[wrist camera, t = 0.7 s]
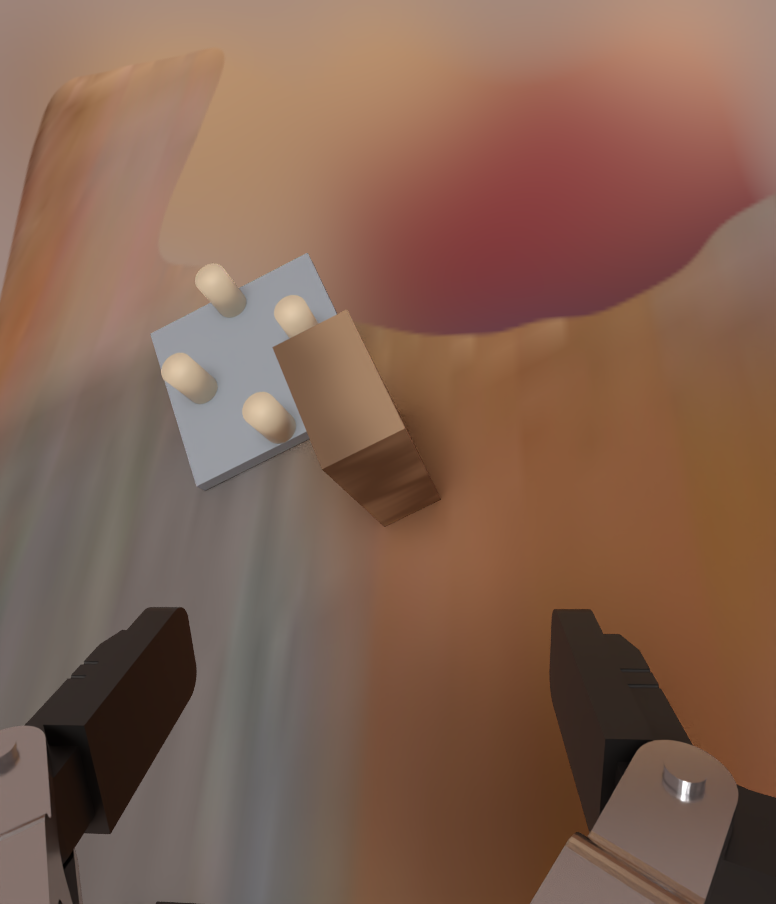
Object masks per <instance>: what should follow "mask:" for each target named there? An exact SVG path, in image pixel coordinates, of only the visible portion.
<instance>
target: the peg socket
mask: <svg viewBox="0 0 776 904" xmlns="http://www.w3.org/2000/svg"><path fill="white" fill-rule="evenodd" d="M195 284H196V286H197V288H198V289H199V290H200V291H201V292H202V293H203V295H204V296H205V297H206V298H207V299H208V300H209V301H210V302H211V303H209V304H207V305H205V306H203V307H201V308H200V309H198V310H196V311H194V312H192V313H190V314H188V315H186V316H184V317H182V318H180V319H178V320H176V321H174V322H172V323H170V324H169V325H167V326H165V327H163V328H161V329H159V330H157V331H155V332H153V333H151V338H152V341H153V344H154V347H155V351H156V354H157V357H158V361H159V364H160V367H161V374H162V377H163V379H164V380H165V384H166V387H167V390H168V394H169V397H170V400H171V403H172V407H173V410H174V413H175V417H176V420H177V423H178V427H179V430H180V433H181V436H182V440H183V443H184V446H185V450H186V453H187V456H188V460H189V463H190V466H191V469H192V473H193V476H194V479H195V483H196V486H197V487H199V488H201V489H203V490H207V489H209V488H211V487H213V486H215V485H217V484H219V483H221V482H223V481H225V480H227V479H229V478H231V477H233V476H235V475H238V474H240V473H242V472H244V471H246V470H248V469H250V468H252V467H254V466H256V465H258V464H260V463H262V462H264V461H266V460H268V459H270V458H272V457H274V456H276V455H278V454H280V453H282V452H284V451H286V450H288V449H290V448H292V447H294V446H296V445H298V444H300V443H302V442H304V441H306V440H308V439H309V436H308V434H307V431H306V429H305V426H304V424H303V421H302V419H301V417H300V414H299V412H298V409H297V407H296V404H295V402H294V399H293V397H292V394H291V392H290V389H289V387H288V385H287V382H286V380H285V377H284V375H283V372H282V370H281V367H280V365H279V362H278V360H277V358H276V355H275V353H274V350H273V348H272V347H274V346H276V345H278V344H280V343H282V342H284V341H286V340H288V339H290V338H292V337H294V336H295V335H297V334H299V333H301V332H303V331H305V330H307V329H309V328H311V327H313V326H315V325H317V324H319V323H321V322H323V321H325V320H327V319H329V318H331V317H333V316H335V315H337V312H336V310H335V308H334V306H333V304H332V302H331V300H330V298H329V296H328V293H327V291H326V289H325V287H324V285H323V283H322V281H321V279H320V277H319V275H318V273H317V271H316V268H315V267H314V264H313V262H312V260H311V258H310V257H309V255H308V253H306V254H304V255H302V256H300V257H298V258H296V259H294V260H292V261H291V262H289V263H287V264H285V265H283V266H281V267H279V268H277V269H275V270H273V271H271V272H269V273H267V274H265V275H263V276H261V277H260V278H258V279H256V280H254V281H252V282H250V283H248V284H246V285H244V286H242V287H240V288H238V286H237V285H236V284H235V283H234V281H233V280H232V279H231V278H230V276H229V275H228V274H227V272H226V271H225V270H224V268H223V267H222V266H221V265H219V264H209V265H206V266H204V267H203V268H201V269H200V270H199V272H198V273H197V275H196V278H195Z"/></svg>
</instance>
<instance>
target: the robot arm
mask: <svg viewBox="0 0 776 904" xmlns="http://www.w3.org/2000/svg"><path fill="white" fill-rule="evenodd" d="M195 682H196V662H195V656H194V650H193V644H192V638H191V632H190V626H189V620H188V615H187V612H186V610H185V609H184V608H182V607H149V608H147V609H145V610H144V611H143V612H142V614H141V615H140V616H139V617H138V618H137V619H136V620H135V621H134V623H133V624H132V625H131V626H130V627H129V628H128V629H127V630H121V631H120V632H118V633H117V634H115V635H114V636H112V637H111V638H109V639H107V640H106V641H104V642H103V643H101V644H100V645H99V646H98V647H97V648H96V649H95V650H94V651H93V652H92V653H91V654H90V655H89V657H88V658H87V659H86V660H85V661H84V665H80V666H79V667H78V668H77V669H76V671H75V672H74V673H73V674H72V675H71V679H67V680H66V681H65V682H64V683H63V685H62V686H61V687H60V688H59V689H58V690H57V691H56V692H55V693H54V694H53V695H52V696H51V697H50V699H49V700H48V701H47V702H46V703H45V704H44V705H43V706H42V707H41V708H40V709H39V710H38V711H37V713H36V714H35V715H34V716H33V717H32V718H31V719H30V720H29V721H28V722H27V723H26V724H25V725H24V726H16V727H11V728H7V729H4V730H1V731H0V904H83V899H82V890H81V882H80V873H79V864H78V858H77V854H76V850H75V846H76V845H77V843H78V842H79V840H80V838H81V837H82V835H83V834H84V833H94V834H111V832H112V830H113V829H114V827H115V825H116V824H117V822H118V820H119V819H120V817H121V815H122V813H123V812H124V810H125V808H126V807H127V805H128V803H129V802H130V800H131V798H132V796H133V795H134V793H135V791H136V790H137V788H138V786H139V785H140V783H141V781H142V779H143V778H144V776H145V774H146V773H147V771H148V769H149V768H150V766H151V764H152V762H153V761H154V759H155V757H156V756H157V754H158V752H159V751H160V749H161V747H162V745H163V744H164V742H165V740H166V739H167V737H168V735H169V734H170V732H171V730H172V728H173V727H174V725H175V723H176V722H177V720H178V718H179V717H180V715H181V713H182V711H183V710H184V708H185V706H186V705H187V703H188V701H189V700H190V698H191V696H192V693H193V691H194V687H195ZM550 689H551V697H552V702H553V706H554V710H555V713H556V717H557V720H558V724H559V727H560V731H561V734H562V738H563V741H564V745H565V748H566V752H567V755H568V759H569V762H570V766H571V769H572V773H573V776H574V780H575V783H576V787H577V790H578V794H579V797H580V801H581V804H582V808H583V811H584V815H585V818H586V822H587V825H588V829H589V832H590V834H589V835H588V836H587V837H586V836H584V835H583V834H581V833H579V832H576V833H575V834H573V835H572V836H571V838H570V839H569V840H568V842H567V843H566V845H565V846H564V848H563V850H562V851H561V853H560V855H559V856H558V858H557V860H556V861H555V863H554V865H553V866H552V868H551V870H550V871H549V873H548V875H547V876H546V878H545V880H544V881H543V883H542V885H541V886H540V888H539V890H538V891H537V893H536V895H535V896H534V898H533V900H532V901H531V903H530V904H776V798H774V797H771V796H767V795H764V794H760V793H757V792H754V791H751V790H748V789H746V788H743V787H741V786H739V785H737V784H736V782H735V780H734V779H733V777H732V775H731V774H730V773H729V771H728V770H727V769H726V768H725V767H724V766H723V765H722V764H721V763H720V762H719V761H718V760H717V759H715V758H714V757H713V756H711V755H710V754H708V753H707V752H705V751H703V750H701V749H699V748H697V747H695V746H693V745H692V743H691V741H690V739H689V738H688V736H687V734H686V732H685V731H684V729H683V727H682V725H681V723H680V722H679V720H678V718H677V716H676V715H675V713H674V711H673V709H672V708H671V706H670V704H669V702H668V700H667V699H666V697H665V695H664V693H663V692H662V690H661V689H660V688H659V684H658V683H657V681H656V679H655V677H654V676H653V674H652V673H650V668H649V667H648V665H647V663H646V661H645V660H644V658H643V656H642V654H641V653H640V651H639V650H638V649H637V648H636V647H635V646H633V645H632V644H631V643H630V642H629V641H627V640H626V639H625V638H624V637H622V636H621V635H620V634H603V633H602V630H601V628H600V626H599V624H598V622H597V620H596V618H595V616H594V614H593V612H592V611H591V610H590V609H554V610H553V613H552V625H551V649H550ZM156 904H194V903H174V902H157V903H156Z"/></svg>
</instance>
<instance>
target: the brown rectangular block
mask: <svg viewBox="0 0 776 904" xmlns="http://www.w3.org/2000/svg"><path fill="white" fill-rule="evenodd" d="M272 348H273V350H274V353H275V355H276V358H277V360H278V362H279V365H280V367H281V370H282V372H283V375H284V377H285V380H286V382H287V385H288V387H289V389H290V392H291V394H292V397H293V399H294V402H295V404H296V407H297V409H298V412H299V414H300V417H301V419H302V421H303V424H304V426H305V429H306V431H307V434H308V436H309V439H310V441H311V444H312V446H313V448H314V451H315V453H316V456H317V458H318V461H319V463H320V466H321V468H322V470H323V471H324V472H326V473H327V474H328V475H329V476H330V477H331V478H332V479H333V480H334V481H335V482H336V483H337V484H339V485H340V486H341V487H342V488H343V489H344V490H345V491H346V492H347V493H348V494H349V495H351V496H352V497H353V498H354V499H355V500H356V501H357V502H358V503H359V504H360V505H361V506H363V507H364V508H365V509H366V510H367V511H368V512H369V513H370V514H371V515H372V516H373V517H375V518H376V519H377V520H378V521H379V522H380V523H381V524H382V525H383V526H384V527H385V526H387V525H389V524H391V523H393V522H395V521H397V520H399V519H401V518H404V517H406V516H408V515H410V514H412V513H414V512H416V511H418V510H420V509H422V508H424V507H426V506H428V505H430V504H432V503H435V502H437V501H439V500H441V498H440V496H439V494H438V492H437V490H436V488H435V486H434V484H433V482H432V480H431V478H430V476H429V474H428V472H427V470H426V468H425V466H424V464H423V462H422V460H421V458H420V456H419V454H418V451H417V449H416V447H415V445H414V443H413V441H412V439H411V437H410V435H409V433H408V431H407V429H406V427H405V425H404V423H403V421H402V419H401V417H400V415H399V413H398V411H397V409H396V407H395V405H394V403H393V401H392V399H391V397H390V395H389V393H388V391H387V389H386V387H385V385H384V383H383V381H382V379H381V377H380V375H379V373H378V371H377V369H376V367H375V365H374V363H373V360H372V358H371V356H370V354H369V352H368V350H367V348H366V346H365V344H364V342H363V340H362V338H361V336H360V334H359V332H358V330H357V328H356V326H355V324H354V322H353V320H352V318H351V316H350V314H349V312H348V310H345V311H343V312H341V313H339V314H337V315H335V316H333V317H331V318H329V319H327V320H325V321H323V322H321V323H319V324H317V325H315V326H313V327H311V328H309V329H307V330H305V331H303V332H301V333H299V334H297V335H295V336H294V337H292V338H290V339H288V340H286V341H284V342H282V343H280V344H278V345H276V346H274V347H272Z"/></svg>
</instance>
